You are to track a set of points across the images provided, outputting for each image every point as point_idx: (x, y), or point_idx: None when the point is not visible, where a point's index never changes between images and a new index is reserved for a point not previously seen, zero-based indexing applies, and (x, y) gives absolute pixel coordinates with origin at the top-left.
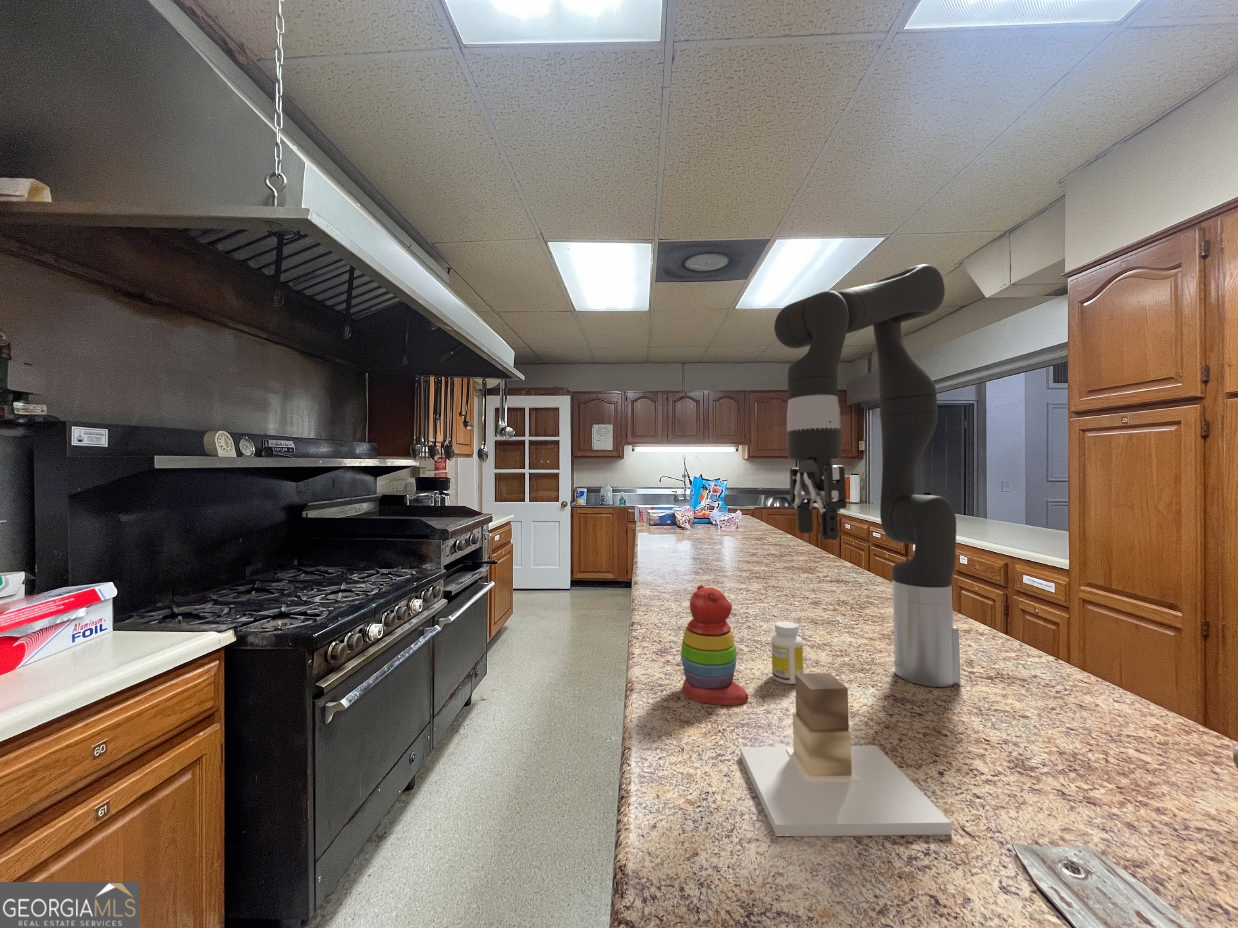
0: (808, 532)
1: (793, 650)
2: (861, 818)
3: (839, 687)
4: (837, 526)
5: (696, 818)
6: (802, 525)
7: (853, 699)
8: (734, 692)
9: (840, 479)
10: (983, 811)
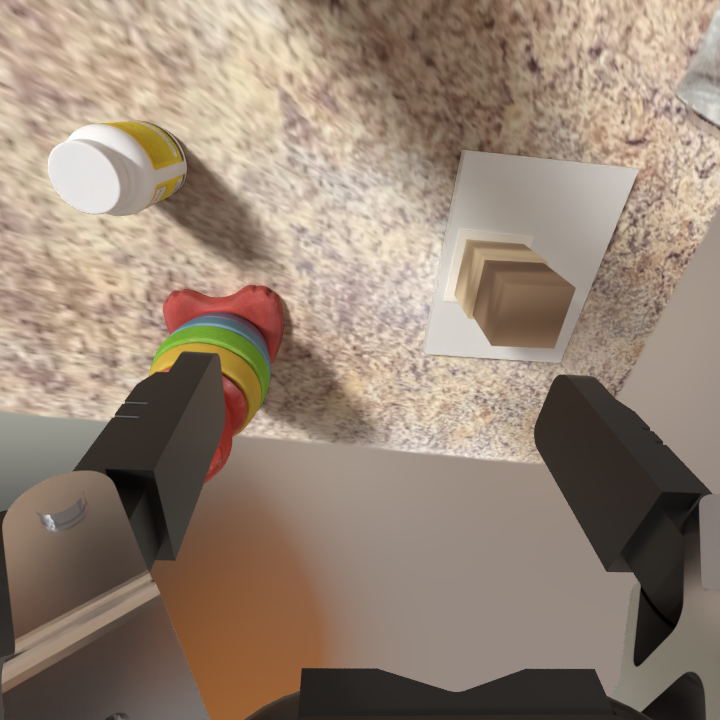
0: (220, 371)
1: (157, 171)
2: (587, 275)
3: (567, 299)
4: (632, 419)
5: (508, 413)
6: (212, 435)
7: (258, 49)
8: (272, 318)
9: None
10: (621, 76)
